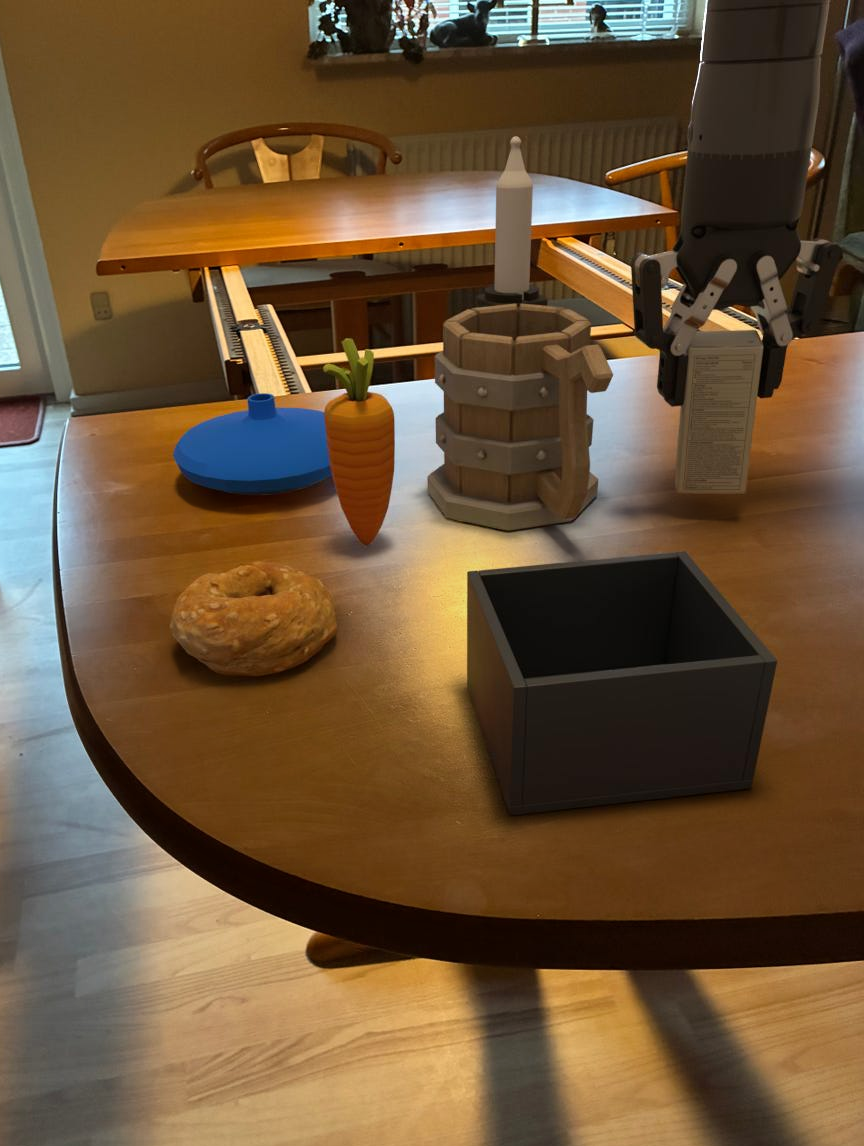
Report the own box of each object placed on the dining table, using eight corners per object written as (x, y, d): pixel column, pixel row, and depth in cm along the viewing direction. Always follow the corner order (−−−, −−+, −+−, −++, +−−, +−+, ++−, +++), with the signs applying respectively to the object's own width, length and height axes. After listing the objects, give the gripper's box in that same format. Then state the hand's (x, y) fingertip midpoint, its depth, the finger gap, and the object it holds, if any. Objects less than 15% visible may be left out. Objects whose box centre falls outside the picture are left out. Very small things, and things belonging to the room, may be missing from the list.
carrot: (394, 562, 71) (384, 353, 63) (327, 559, 71) (309, 353, 64) (404, 532, 75) (397, 333, 67) (341, 529, 76) (326, 332, 68)
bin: (670, 665, 58) (685, 550, 54) (752, 788, 48) (778, 660, 44) (466, 686, 57) (466, 571, 53) (509, 816, 48) (514, 687, 44)
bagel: (377, 632, 62) (373, 566, 60) (239, 708, 56) (228, 637, 54) (278, 583, 69) (271, 521, 66) (144, 646, 62) (130, 580, 60)
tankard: (415, 477, 84) (410, 296, 76) (553, 458, 86) (562, 280, 78) (495, 584, 67) (500, 367, 59) (663, 556, 70) (690, 344, 62)
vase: (181, 525, 77) (166, 440, 74) (175, 455, 91) (163, 379, 87) (376, 501, 80) (372, 417, 76) (343, 436, 93) (338, 361, 89)
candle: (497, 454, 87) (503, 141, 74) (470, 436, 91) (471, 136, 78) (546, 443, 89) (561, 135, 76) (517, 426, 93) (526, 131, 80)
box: (741, 473, 76) (762, 328, 70) (746, 496, 72) (768, 345, 67) (671, 471, 77) (686, 328, 71) (672, 493, 74) (687, 345, 68)
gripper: (660, 156, 59) (638, 425, 68) (890, 138, 60) (838, 406, 69) (620, 145, 65) (605, 392, 74) (828, 128, 66) (788, 375, 75)
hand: (717, 398), depth 71 cm, fingers closed on box, 6 cm apart
